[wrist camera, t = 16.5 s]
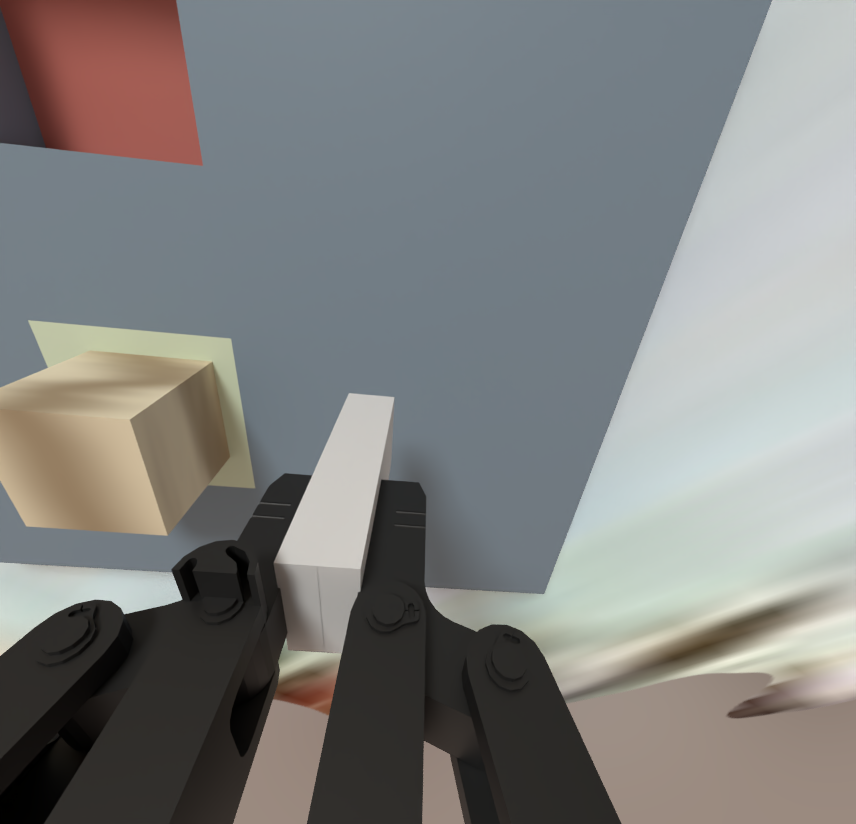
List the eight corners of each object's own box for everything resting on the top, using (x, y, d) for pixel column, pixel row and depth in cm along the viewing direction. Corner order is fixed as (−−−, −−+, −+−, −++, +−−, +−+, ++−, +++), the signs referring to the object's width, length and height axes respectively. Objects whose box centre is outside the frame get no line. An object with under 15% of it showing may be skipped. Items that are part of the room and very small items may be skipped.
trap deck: (759, -175, 12) (903, -343, 8) (528, 543, 27) (543, 593, 23) (-624, -414, 10) (-1225, -772, 6) (-26, 507, 25) (-100, 556, 21)
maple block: (212, 361, 16) (129, 419, 11) (230, 456, 18) (167, 535, 14) (89, 350, 15) (-44, 405, 11) (124, 448, 18) (26, 526, 13)
